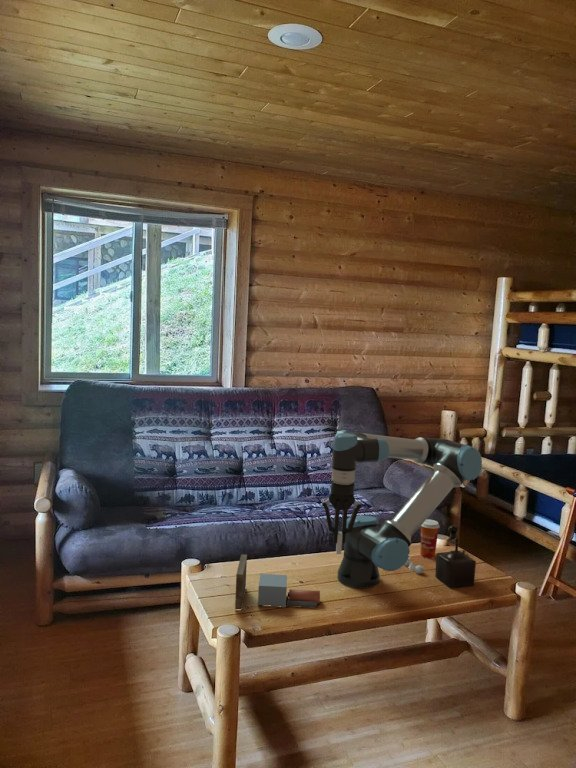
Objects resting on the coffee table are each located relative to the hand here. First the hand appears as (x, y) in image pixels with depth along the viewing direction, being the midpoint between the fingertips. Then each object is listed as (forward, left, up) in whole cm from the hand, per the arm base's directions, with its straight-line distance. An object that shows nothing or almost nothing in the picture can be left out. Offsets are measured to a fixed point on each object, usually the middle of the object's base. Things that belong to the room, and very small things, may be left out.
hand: (338, 552), depth 192 cm
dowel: (+10, 0, -18) cm, 21 cm away
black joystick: (-45, -25, -18) cm, 54 cm away
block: (+21, 0, -18) cm, 27 cm away
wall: (+31, 0, -18) cm, 36 cm away
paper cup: (-41, -46, -18) cm, 64 cm away
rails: (+11, 0, -18) cm, 21 cm away
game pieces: (-31, -32, -18) cm, 48 cm away
